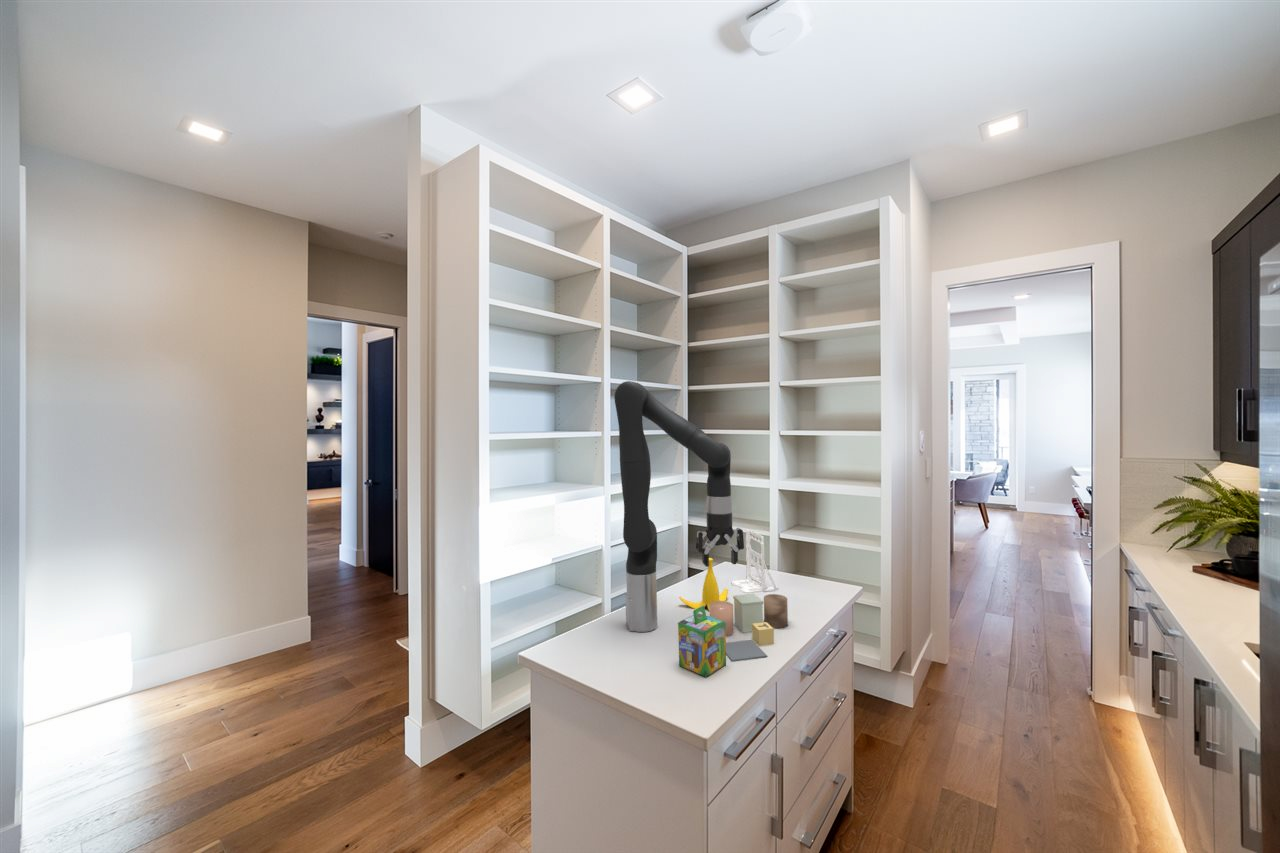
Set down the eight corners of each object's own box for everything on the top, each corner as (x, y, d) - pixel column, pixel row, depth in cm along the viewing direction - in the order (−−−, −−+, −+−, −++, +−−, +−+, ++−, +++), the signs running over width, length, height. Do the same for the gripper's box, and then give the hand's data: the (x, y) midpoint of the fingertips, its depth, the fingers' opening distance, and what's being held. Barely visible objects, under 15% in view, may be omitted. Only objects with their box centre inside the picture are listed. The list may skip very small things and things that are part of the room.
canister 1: (714, 638, 149) (714, 610, 149) (706, 628, 156) (706, 602, 156) (737, 635, 151) (736, 608, 151) (728, 625, 158) (727, 599, 157)
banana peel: (677, 606, 175) (676, 557, 175) (726, 597, 182) (725, 550, 182) (701, 624, 160) (699, 570, 159) (753, 614, 167) (752, 562, 166)
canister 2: (770, 629, 154) (770, 603, 154) (760, 620, 161) (759, 595, 161) (792, 627, 155) (791, 601, 155) (781, 618, 162) (780, 593, 162)
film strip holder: (728, 582, 198) (727, 530, 198) (761, 578, 202) (760, 527, 201) (745, 594, 184) (743, 539, 184) (780, 590, 188) (779, 536, 187)
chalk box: (706, 678, 127) (704, 619, 127) (677, 666, 133) (676, 609, 133) (727, 664, 134) (726, 608, 133) (699, 653, 140) (698, 599, 140)
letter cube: (759, 646, 144) (758, 629, 144) (752, 639, 148) (751, 623, 148) (773, 644, 145) (773, 628, 145) (766, 637, 149) (766, 621, 149)
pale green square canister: (742, 633, 152) (741, 603, 152) (733, 623, 159) (733, 595, 159) (763, 630, 154) (763, 601, 153) (754, 621, 160) (753, 593, 160)
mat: (731, 661, 135) (731, 660, 135) (718, 644, 145) (718, 643, 145) (767, 657, 137) (767, 655, 137) (751, 640, 147) (751, 639, 147)
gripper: (700, 514, 148) (701, 570, 148) (746, 511, 150) (747, 566, 151) (692, 509, 155) (693, 563, 155) (736, 506, 158) (737, 559, 158)
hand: (720, 564), depth 153 cm, fingers open, 8 cm apart
